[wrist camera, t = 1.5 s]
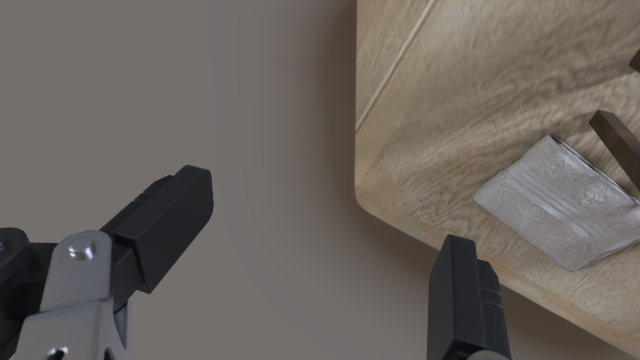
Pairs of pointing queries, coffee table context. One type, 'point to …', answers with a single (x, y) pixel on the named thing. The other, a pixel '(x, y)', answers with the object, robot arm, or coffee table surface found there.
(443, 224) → the coffee table surface
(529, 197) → the washcloth
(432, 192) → the coffee table surface
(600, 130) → the stand
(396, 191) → the coffee table surface
